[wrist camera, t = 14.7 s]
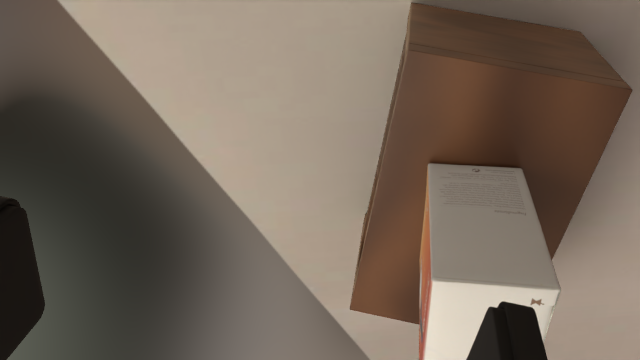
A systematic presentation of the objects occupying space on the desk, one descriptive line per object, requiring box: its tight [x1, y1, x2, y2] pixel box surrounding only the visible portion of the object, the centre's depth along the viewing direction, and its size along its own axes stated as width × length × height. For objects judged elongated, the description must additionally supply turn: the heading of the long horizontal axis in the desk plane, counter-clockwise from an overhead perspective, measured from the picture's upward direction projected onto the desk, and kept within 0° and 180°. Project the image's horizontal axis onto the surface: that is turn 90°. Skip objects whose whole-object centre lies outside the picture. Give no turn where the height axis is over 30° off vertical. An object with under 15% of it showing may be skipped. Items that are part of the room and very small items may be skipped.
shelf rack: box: [350, 3, 632, 324], centre depth 39 cm, size 12×20×11 cm, turn 172°
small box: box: [419, 163, 561, 360], centre depth 29 cm, size 8×6×10 cm
